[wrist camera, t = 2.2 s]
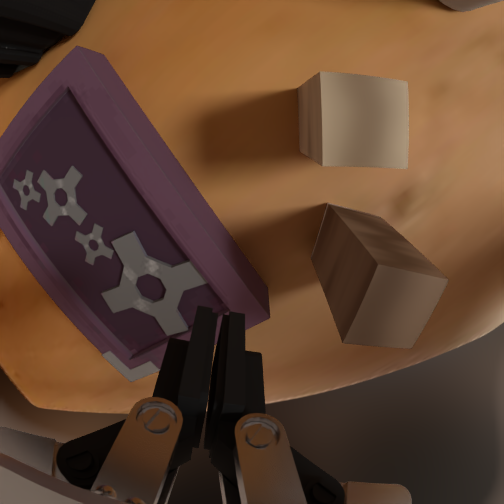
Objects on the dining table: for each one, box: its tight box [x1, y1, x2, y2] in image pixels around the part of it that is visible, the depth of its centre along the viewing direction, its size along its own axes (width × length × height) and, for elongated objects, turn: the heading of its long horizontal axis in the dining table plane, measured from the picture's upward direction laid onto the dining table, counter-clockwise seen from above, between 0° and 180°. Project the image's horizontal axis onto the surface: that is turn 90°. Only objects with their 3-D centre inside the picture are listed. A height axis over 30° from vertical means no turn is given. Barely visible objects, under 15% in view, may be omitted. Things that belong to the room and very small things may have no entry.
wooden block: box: [311, 203, 449, 349], centre depth 20 cm, size 5×5×11 cm
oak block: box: [297, 72, 409, 169], centre depth 17 cm, size 5×5×8 cm
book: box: [0, 46, 270, 382], centre depth 23 cm, size 25×16×5 cm, turn 32°
